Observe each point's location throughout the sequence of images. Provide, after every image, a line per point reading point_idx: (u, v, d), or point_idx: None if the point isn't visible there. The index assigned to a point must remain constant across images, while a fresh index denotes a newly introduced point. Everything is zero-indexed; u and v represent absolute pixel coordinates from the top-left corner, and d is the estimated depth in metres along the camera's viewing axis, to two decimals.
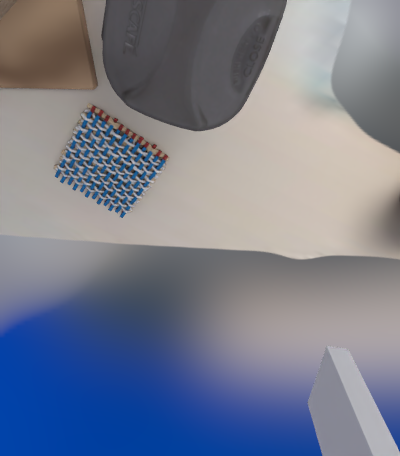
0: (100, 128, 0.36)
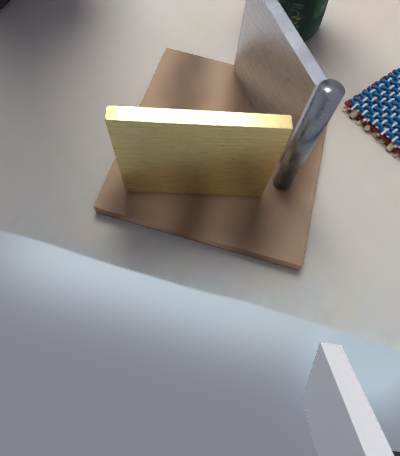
0: (366, 98, 0.40)
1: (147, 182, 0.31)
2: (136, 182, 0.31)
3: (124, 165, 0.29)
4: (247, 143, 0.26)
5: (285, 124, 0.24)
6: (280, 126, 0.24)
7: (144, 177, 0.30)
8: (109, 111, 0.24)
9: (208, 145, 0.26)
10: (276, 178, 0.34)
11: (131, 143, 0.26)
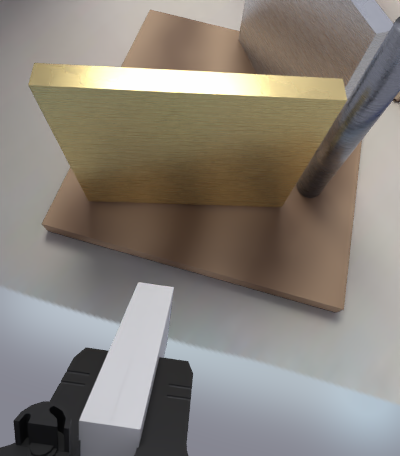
0: None
1: (117, 188, 0.21)
2: (101, 189, 0.21)
3: (78, 163, 0.19)
4: (268, 127, 0.16)
5: (335, 93, 0.15)
6: (326, 97, 0.14)
7: (112, 181, 0.21)
8: (36, 71, 0.14)
9: (206, 130, 0.16)
10: (301, 181, 0.24)
11: (82, 128, 0.16)
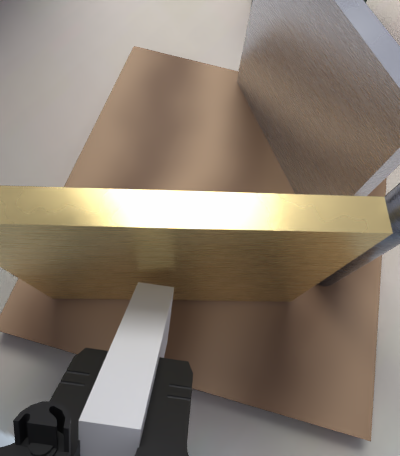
0: None
1: (85, 291, 0.17)
2: (65, 291, 0.17)
3: (29, 276, 0.15)
4: (278, 252, 0.12)
5: (374, 221, 0.10)
6: (362, 228, 0.10)
7: (76, 287, 0.16)
8: None
9: (192, 255, 0.12)
10: None
11: (22, 253, 0.12)
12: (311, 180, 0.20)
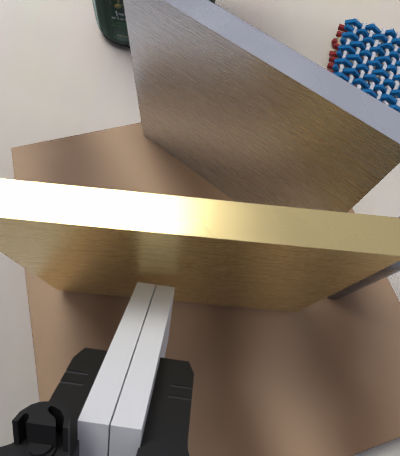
0: None
1: (91, 287, 0.17)
2: (71, 285, 0.17)
3: (37, 268, 0.15)
4: (287, 266, 0.11)
5: (389, 242, 0.10)
6: (376, 249, 0.10)
7: (83, 282, 0.16)
8: None
9: (200, 261, 0.12)
10: None
11: (31, 247, 0.12)
12: None
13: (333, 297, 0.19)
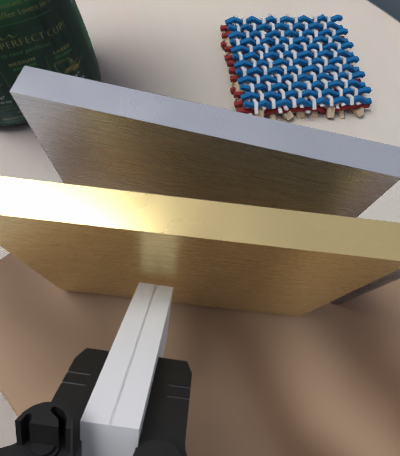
0: (252, 86, 0.26)
1: (95, 287, 0.17)
2: (75, 285, 0.17)
3: (41, 267, 0.15)
4: (292, 269, 0.11)
5: (395, 248, 0.10)
6: (382, 254, 0.10)
7: (87, 282, 0.16)
8: None
9: (205, 263, 0.12)
10: (339, 299, 0.19)
11: (38, 246, 0.12)
12: None
13: (343, 302, 0.19)
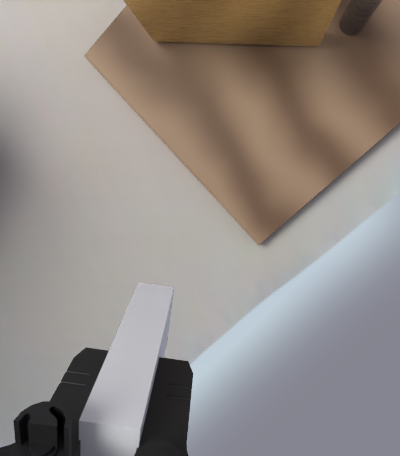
0: None
1: (175, 33, 0.26)
2: (162, 33, 0.26)
3: (142, 16, 0.24)
4: None
5: None
6: None
7: (170, 27, 0.25)
8: None
9: None
10: (350, 29, 0.25)
11: None
12: None
13: (355, 32, 0.26)
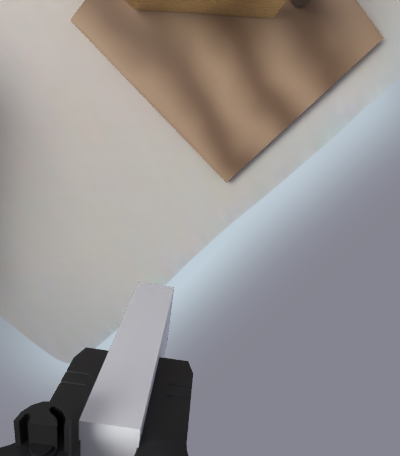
0: None
1: (153, 6, 0.31)
2: (142, 5, 0.31)
3: None
4: None
5: None
6: None
7: (149, 3, 0.30)
8: None
9: None
10: (298, 5, 0.31)
11: None
12: None
13: (302, 6, 0.32)
